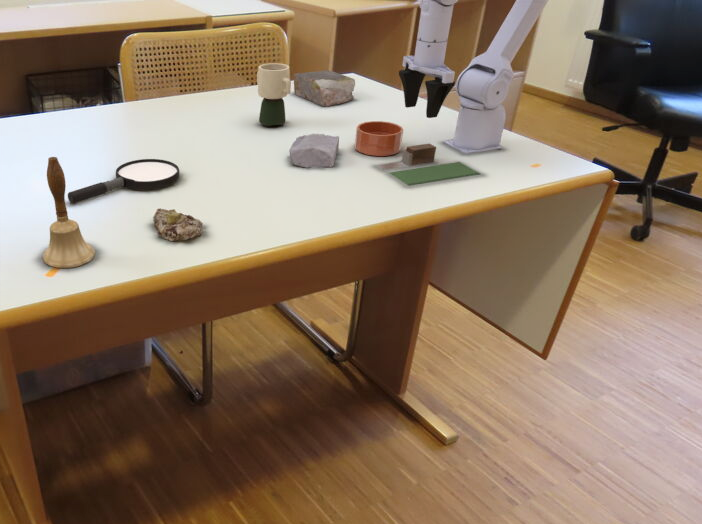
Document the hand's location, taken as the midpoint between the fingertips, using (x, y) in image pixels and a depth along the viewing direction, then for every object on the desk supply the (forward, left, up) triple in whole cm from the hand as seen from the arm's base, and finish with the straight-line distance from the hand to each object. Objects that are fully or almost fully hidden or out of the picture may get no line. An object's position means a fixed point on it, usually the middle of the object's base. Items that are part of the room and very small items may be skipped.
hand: (420, 111), depth 139 cm
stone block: (+20, -7, -10) cm, 23 cm away
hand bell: (+76, +19, -10) cm, 79 cm away
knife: (+4, +3, -9) cm, 11 cm away
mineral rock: (+57, +16, -10) cm, 60 cm away
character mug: (+19, -31, -10) cm, 38 cm away
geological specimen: (-3, -47, -10) cm, 48 cm away
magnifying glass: (+61, -6, -10) cm, 62 cm away
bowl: (+5, -6, -9) cm, 12 cm away
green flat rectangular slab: (+2, +10, -9) cm, 14 cm away
